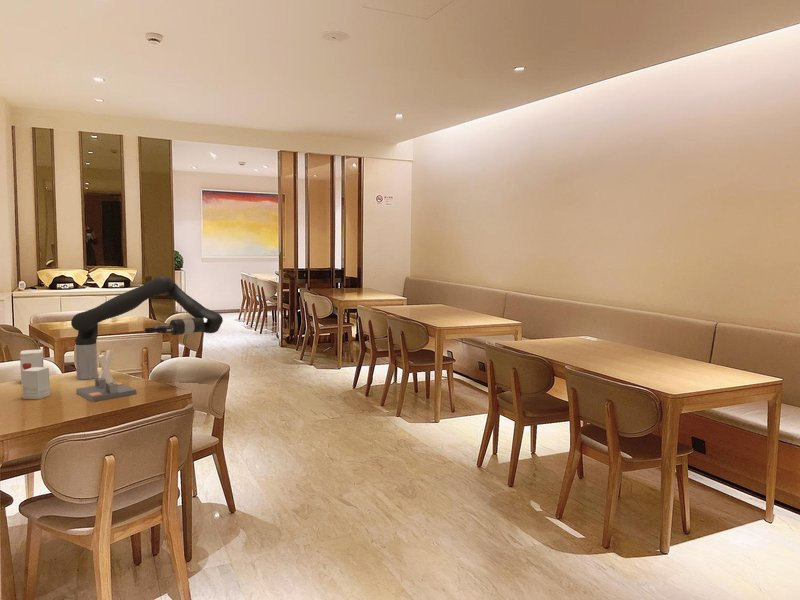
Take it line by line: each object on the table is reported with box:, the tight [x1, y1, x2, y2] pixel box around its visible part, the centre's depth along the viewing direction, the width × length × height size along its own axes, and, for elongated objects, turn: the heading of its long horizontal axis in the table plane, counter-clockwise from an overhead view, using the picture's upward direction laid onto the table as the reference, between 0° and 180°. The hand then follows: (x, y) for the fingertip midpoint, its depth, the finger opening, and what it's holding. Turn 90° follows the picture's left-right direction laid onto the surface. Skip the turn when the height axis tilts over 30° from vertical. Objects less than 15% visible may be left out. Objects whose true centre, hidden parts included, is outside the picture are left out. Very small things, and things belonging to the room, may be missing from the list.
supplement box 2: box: [21, 366, 51, 400], centre depth 238 cm, size 7×7×13 cm
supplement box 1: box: [19, 349, 44, 385], centre depth 266 cm, size 9×9×15 cm
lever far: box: [97, 349, 115, 382], centre depth 251 cm, size 3×2×15 cm
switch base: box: [75, 377, 137, 403], centre depth 246 cm, size 20×18×6 cm
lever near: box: [97, 353, 115, 387], centre depth 240 cm, size 3×2×15 cm
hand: (145, 330), depth 251 cm, fingers closed
